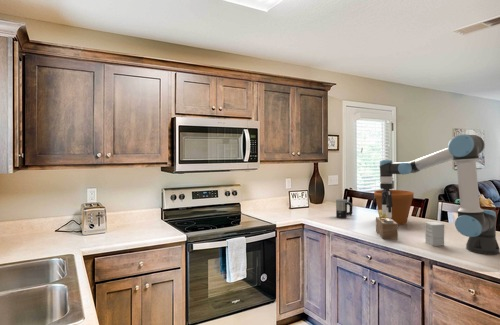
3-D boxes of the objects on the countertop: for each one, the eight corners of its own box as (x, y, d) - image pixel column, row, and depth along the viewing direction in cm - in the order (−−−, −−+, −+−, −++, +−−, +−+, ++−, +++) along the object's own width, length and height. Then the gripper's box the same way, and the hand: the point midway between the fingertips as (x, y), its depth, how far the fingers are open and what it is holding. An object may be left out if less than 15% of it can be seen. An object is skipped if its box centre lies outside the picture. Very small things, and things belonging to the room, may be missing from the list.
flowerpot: (421, 223, 244) (421, 192, 243) (396, 228, 231) (396, 195, 230) (390, 216, 269) (390, 189, 268) (366, 220, 256) (366, 191, 255)
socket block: (397, 239, 204) (397, 223, 203) (382, 238, 205) (382, 223, 205) (389, 231, 222) (389, 217, 222) (376, 231, 224) (375, 217, 223)
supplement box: (436, 242, 196) (436, 221, 195) (444, 245, 188) (444, 224, 188) (425, 242, 195) (425, 222, 195) (432, 246, 188) (432, 224, 187)
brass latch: (391, 218, 214) (388, 209, 220) (380, 218, 215) (377, 209, 221) (391, 219, 214) (388, 210, 221) (380, 219, 215) (377, 210, 222)
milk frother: (335, 218, 269) (335, 200, 268) (335, 214, 284) (335, 197, 283) (353, 218, 265) (353, 201, 264) (352, 214, 280) (352, 198, 279)
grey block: (393, 237, 204) (393, 220, 204) (386, 237, 205) (386, 220, 205) (390, 235, 211) (390, 218, 211) (383, 234, 212) (383, 218, 212)
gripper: (397, 184, 199) (398, 219, 199) (387, 181, 222) (387, 213, 222) (385, 184, 200) (385, 218, 200) (376, 181, 223) (376, 212, 223)
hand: (386, 215), depth 211 cm, fingers open, 11 cm apart
